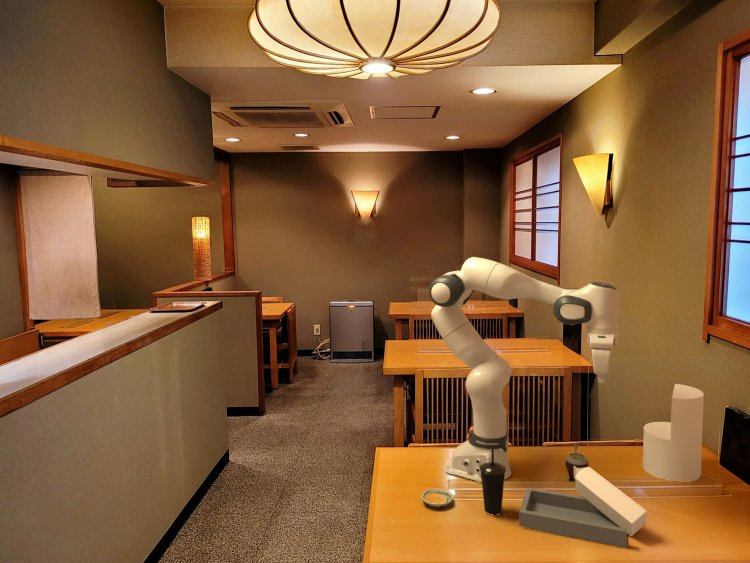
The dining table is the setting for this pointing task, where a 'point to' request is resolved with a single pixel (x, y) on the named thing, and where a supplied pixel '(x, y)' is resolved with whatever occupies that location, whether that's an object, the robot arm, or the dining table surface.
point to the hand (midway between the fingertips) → (601, 381)
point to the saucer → (441, 492)
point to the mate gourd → (575, 463)
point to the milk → (609, 500)
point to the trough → (569, 517)
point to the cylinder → (676, 438)
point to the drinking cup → (492, 485)
